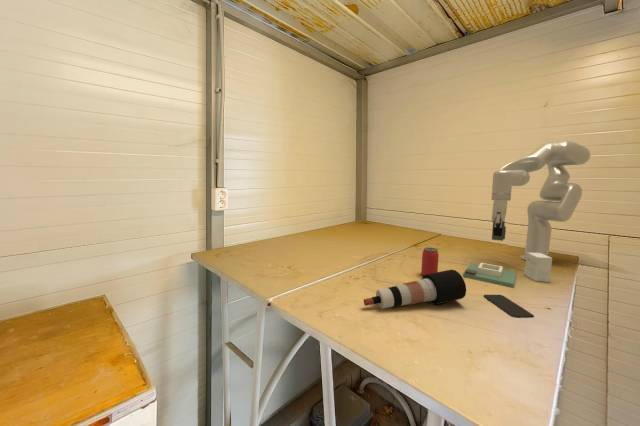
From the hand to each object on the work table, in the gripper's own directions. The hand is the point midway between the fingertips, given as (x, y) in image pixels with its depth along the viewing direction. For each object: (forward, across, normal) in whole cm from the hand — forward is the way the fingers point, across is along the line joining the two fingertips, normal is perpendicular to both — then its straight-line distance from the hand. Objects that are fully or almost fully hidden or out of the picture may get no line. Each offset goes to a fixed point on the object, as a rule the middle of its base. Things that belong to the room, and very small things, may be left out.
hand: (498, 234), depth 127 cm
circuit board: (+16, +17, -1) cm, 23 cm away
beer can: (+15, +34, -22) cm, 43 cm away
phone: (+16, +46, +7) cm, 49 cm away
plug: (+2, 0, 0) cm, 2 cm away
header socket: (+14, +17, -1) cm, 22 cm away
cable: (+14, +66, -18) cm, 69 cm away
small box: (+16, +7, +16) cm, 24 cm away
